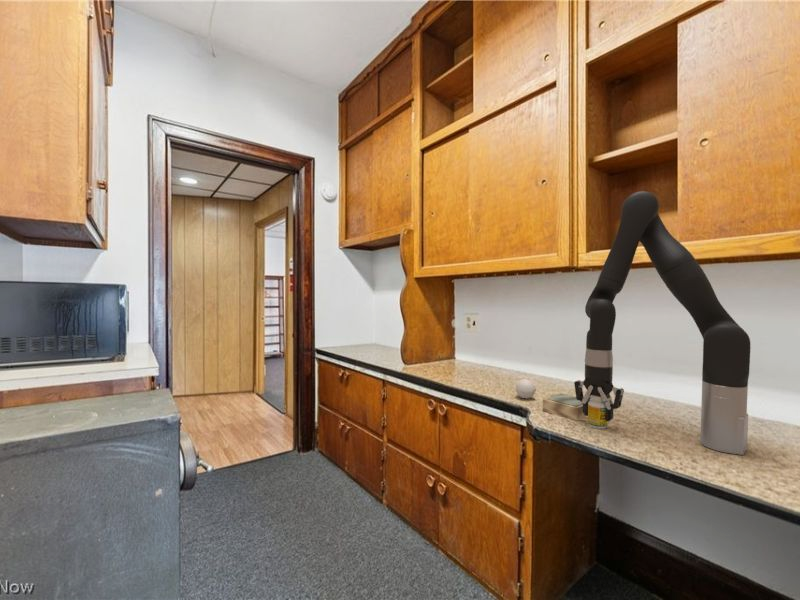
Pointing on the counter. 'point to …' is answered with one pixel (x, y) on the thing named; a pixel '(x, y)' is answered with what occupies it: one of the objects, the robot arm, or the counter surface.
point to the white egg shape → (525, 388)
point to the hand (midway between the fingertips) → (597, 417)
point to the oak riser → (564, 406)
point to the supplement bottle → (597, 413)
